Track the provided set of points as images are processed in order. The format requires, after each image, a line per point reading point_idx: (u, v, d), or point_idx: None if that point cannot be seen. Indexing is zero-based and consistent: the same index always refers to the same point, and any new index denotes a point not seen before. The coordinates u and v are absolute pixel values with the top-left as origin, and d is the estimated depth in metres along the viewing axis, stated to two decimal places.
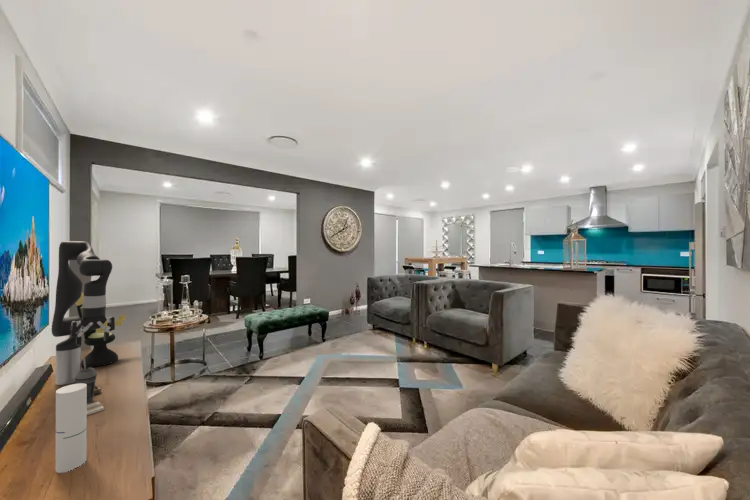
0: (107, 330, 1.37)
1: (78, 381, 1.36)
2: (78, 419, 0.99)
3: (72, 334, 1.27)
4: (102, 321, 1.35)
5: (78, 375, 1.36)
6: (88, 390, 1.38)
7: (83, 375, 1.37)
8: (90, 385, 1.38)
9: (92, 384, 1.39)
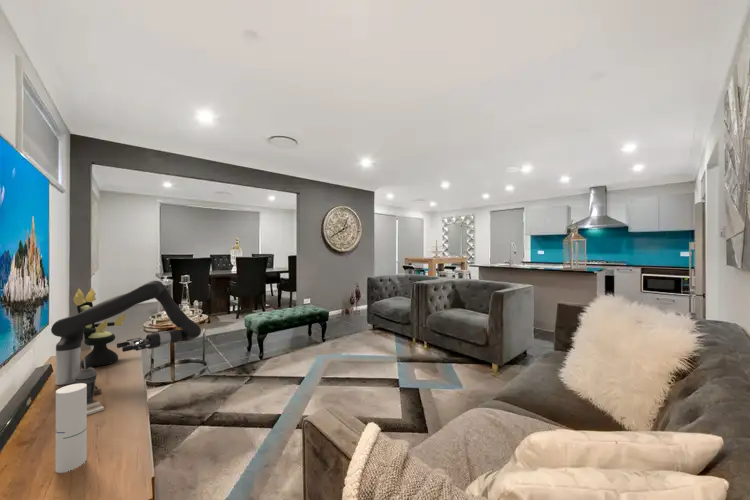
0: None
1: (78, 381, 1.36)
2: (78, 419, 0.99)
3: None
4: None
5: (78, 375, 1.36)
6: (88, 390, 1.38)
7: (83, 375, 1.37)
8: (90, 385, 1.38)
9: (92, 384, 1.39)
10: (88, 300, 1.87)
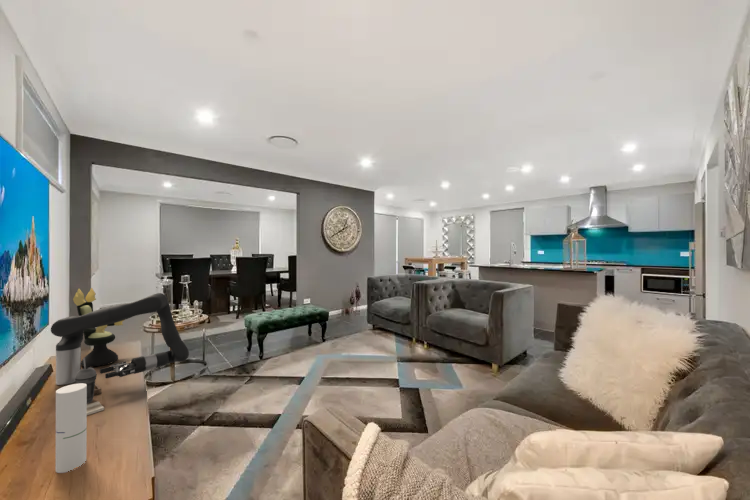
0: None
1: (78, 381, 1.36)
2: (78, 419, 0.99)
3: (121, 376, 1.45)
4: None
5: (78, 375, 1.36)
6: (88, 390, 1.38)
7: (84, 375, 1.37)
8: (90, 385, 1.38)
9: (92, 384, 1.39)
10: (88, 300, 1.87)
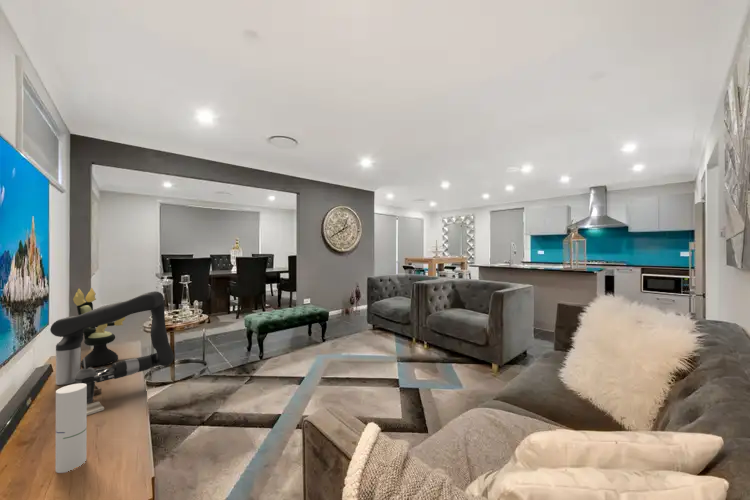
0: None
1: (78, 381, 1.36)
2: (78, 419, 0.99)
3: None
4: None
5: (78, 375, 1.36)
6: (88, 390, 1.38)
7: (83, 375, 1.37)
8: (90, 385, 1.38)
9: (92, 384, 1.39)
10: (88, 300, 1.87)
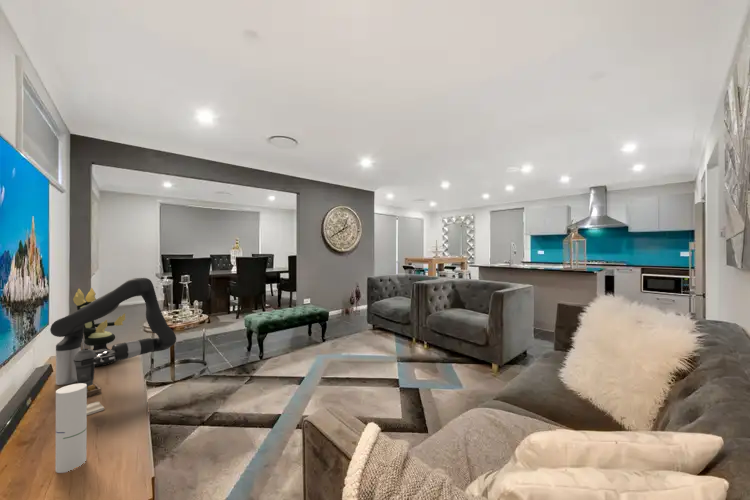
0: None
1: (77, 363, 1.29)
2: (78, 419, 0.99)
3: (99, 363, 1.31)
4: None
5: (77, 356, 1.29)
6: (88, 372, 1.31)
7: (83, 357, 1.30)
8: (90, 367, 1.32)
9: (92, 366, 1.33)
10: (88, 300, 1.87)
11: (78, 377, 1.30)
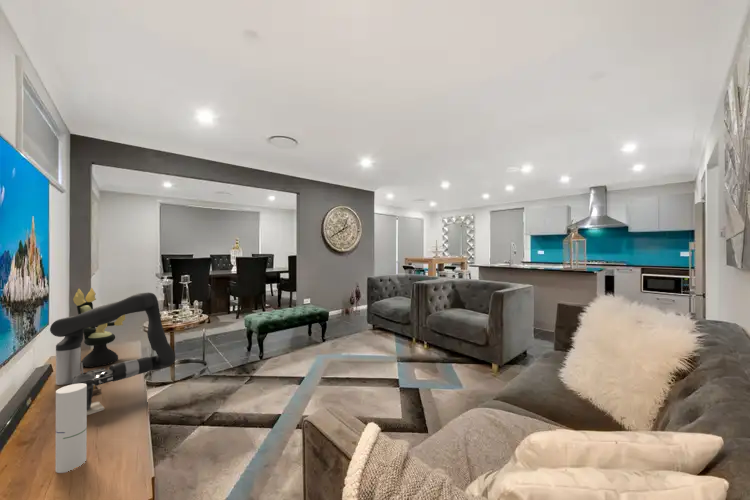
0: None
1: None
2: (78, 419, 0.99)
3: None
4: None
5: (75, 381, 1.28)
6: None
7: None
8: (88, 391, 1.30)
9: (90, 390, 1.31)
10: (88, 300, 1.87)
11: None
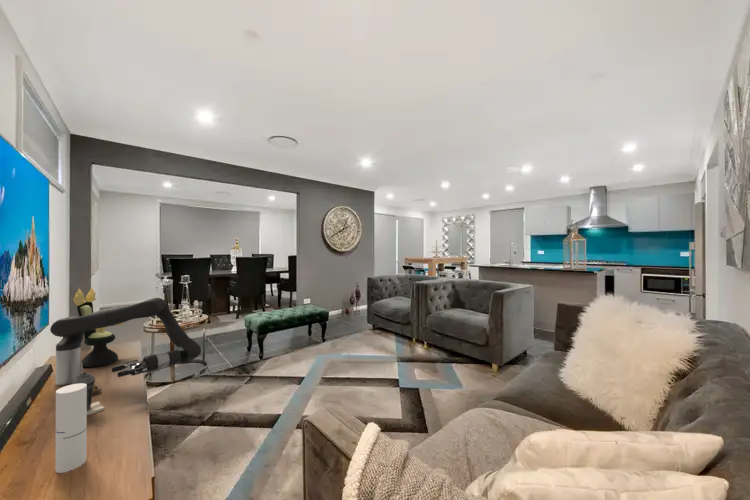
0: None
1: None
2: (78, 419, 0.99)
3: None
4: None
5: (75, 381, 1.28)
6: None
7: (81, 382, 1.28)
8: (87, 391, 1.30)
9: (90, 391, 1.31)
10: (88, 300, 1.87)
11: None
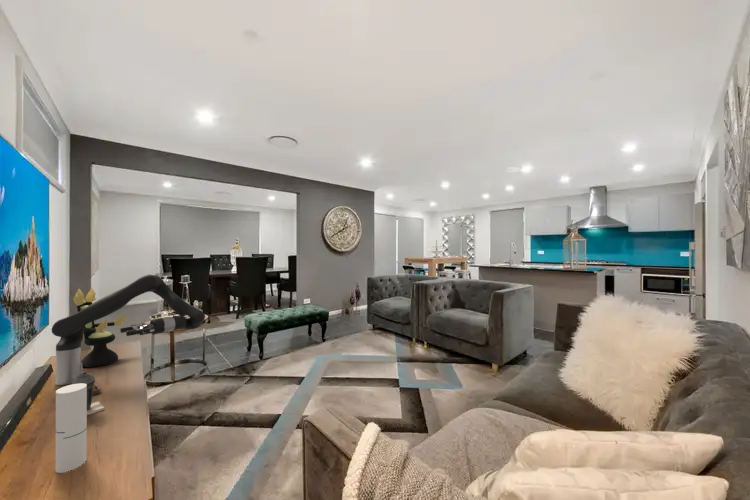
0: None
1: None
2: (78, 419, 0.99)
3: (142, 334, 1.46)
4: None
5: (75, 381, 1.28)
6: None
7: (81, 382, 1.28)
8: (87, 391, 1.30)
9: (90, 391, 1.31)
10: (88, 300, 1.87)
11: None
